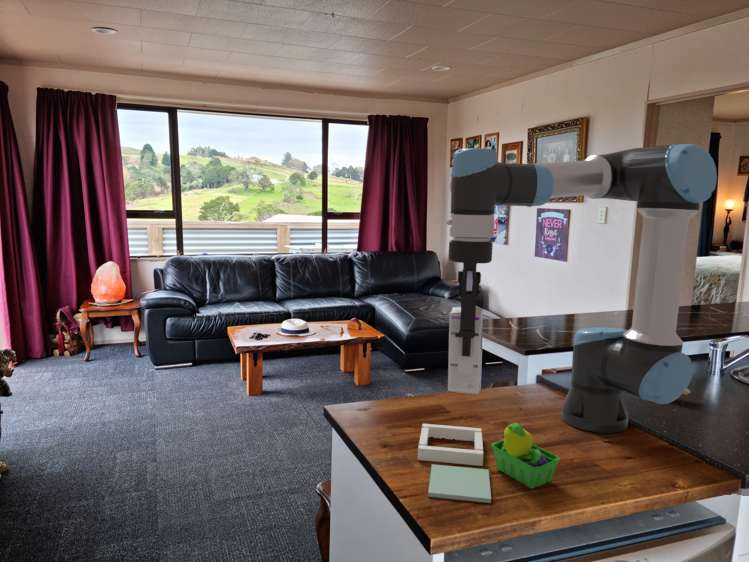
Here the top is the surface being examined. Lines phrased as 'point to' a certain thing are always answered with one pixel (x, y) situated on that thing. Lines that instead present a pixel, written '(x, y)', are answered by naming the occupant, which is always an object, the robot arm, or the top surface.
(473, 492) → the mat
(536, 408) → the top surface
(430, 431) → the white open square frame
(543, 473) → the fruit basket
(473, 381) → the syrup box
